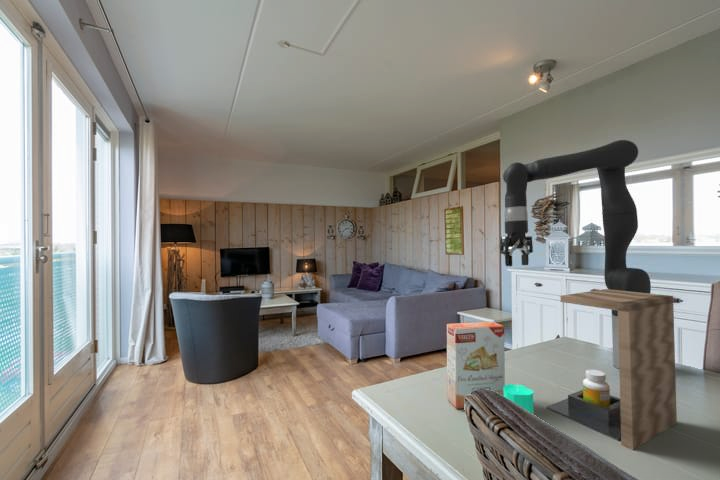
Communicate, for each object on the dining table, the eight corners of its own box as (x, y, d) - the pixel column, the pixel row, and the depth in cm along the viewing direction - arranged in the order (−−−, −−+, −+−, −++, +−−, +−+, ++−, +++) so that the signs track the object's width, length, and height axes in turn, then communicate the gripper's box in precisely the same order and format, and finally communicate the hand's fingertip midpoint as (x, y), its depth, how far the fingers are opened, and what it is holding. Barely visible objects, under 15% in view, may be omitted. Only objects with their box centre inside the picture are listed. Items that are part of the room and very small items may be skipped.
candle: (538, 447, 69) (537, 389, 69) (508, 444, 70) (506, 387, 70) (530, 430, 75) (528, 377, 75) (501, 428, 76) (500, 376, 76)
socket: (582, 394, 92) (582, 379, 92) (654, 420, 78) (653, 404, 78) (546, 408, 85) (545, 392, 85) (618, 440, 70) (617, 422, 70)
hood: (608, 398, 89) (605, 289, 89) (676, 423, 76) (673, 295, 77) (563, 418, 80) (560, 295, 80) (632, 449, 67) (628, 304, 68)
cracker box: (456, 410, 84) (454, 328, 84) (446, 399, 90) (445, 323, 90) (507, 405, 87) (505, 325, 87) (493, 394, 92) (492, 320, 93)
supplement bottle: (578, 407, 84) (576, 369, 84) (597, 406, 84) (596, 367, 84) (596, 418, 78) (594, 377, 78) (616, 416, 79) (614, 375, 79)
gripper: (511, 219, 111) (512, 267, 111) (538, 219, 118) (539, 265, 118) (493, 220, 118) (494, 266, 118) (520, 221, 124) (521, 264, 124)
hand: (517, 265), depth 118 cm, fingers open, 8 cm apart
